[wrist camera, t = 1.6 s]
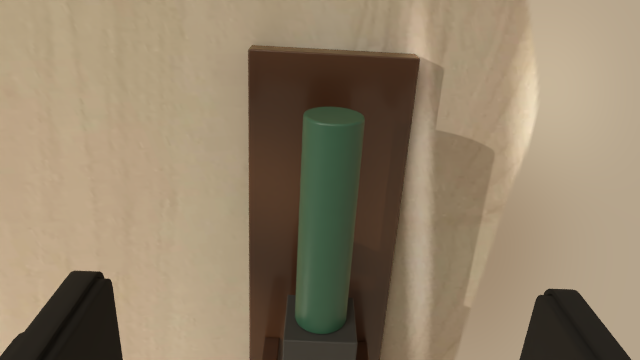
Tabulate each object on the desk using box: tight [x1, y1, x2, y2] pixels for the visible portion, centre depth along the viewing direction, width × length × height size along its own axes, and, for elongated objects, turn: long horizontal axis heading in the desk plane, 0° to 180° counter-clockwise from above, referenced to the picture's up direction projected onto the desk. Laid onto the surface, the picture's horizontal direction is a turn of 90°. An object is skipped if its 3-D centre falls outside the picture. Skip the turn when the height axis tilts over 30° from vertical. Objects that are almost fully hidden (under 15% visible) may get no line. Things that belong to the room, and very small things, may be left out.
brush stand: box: [248, 45, 420, 360], centre depth 23 cm, size 21×7×6 cm, turn 177°
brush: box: [283, 107, 365, 360], centre depth 21 cm, size 15×4×3 cm, turn 177°
